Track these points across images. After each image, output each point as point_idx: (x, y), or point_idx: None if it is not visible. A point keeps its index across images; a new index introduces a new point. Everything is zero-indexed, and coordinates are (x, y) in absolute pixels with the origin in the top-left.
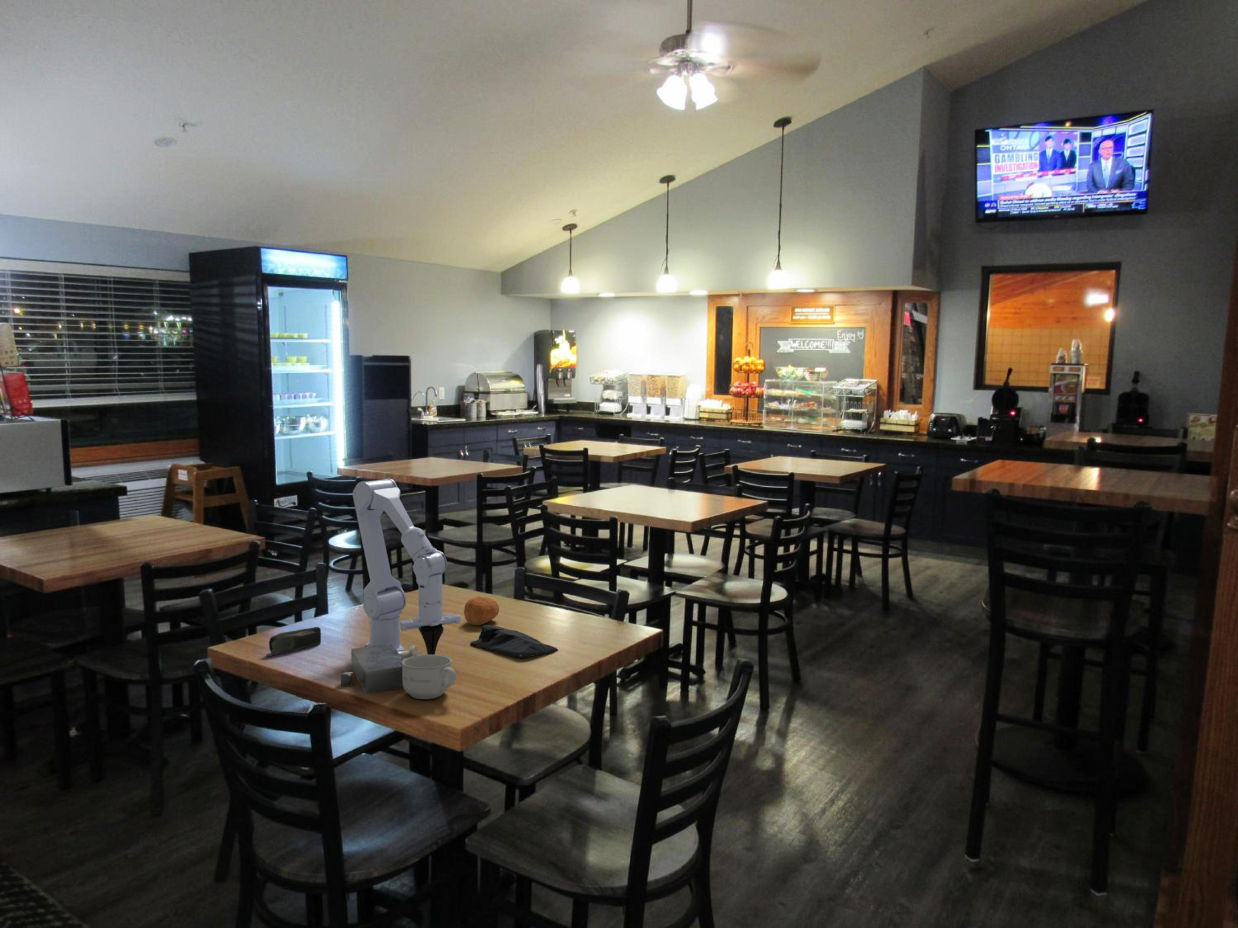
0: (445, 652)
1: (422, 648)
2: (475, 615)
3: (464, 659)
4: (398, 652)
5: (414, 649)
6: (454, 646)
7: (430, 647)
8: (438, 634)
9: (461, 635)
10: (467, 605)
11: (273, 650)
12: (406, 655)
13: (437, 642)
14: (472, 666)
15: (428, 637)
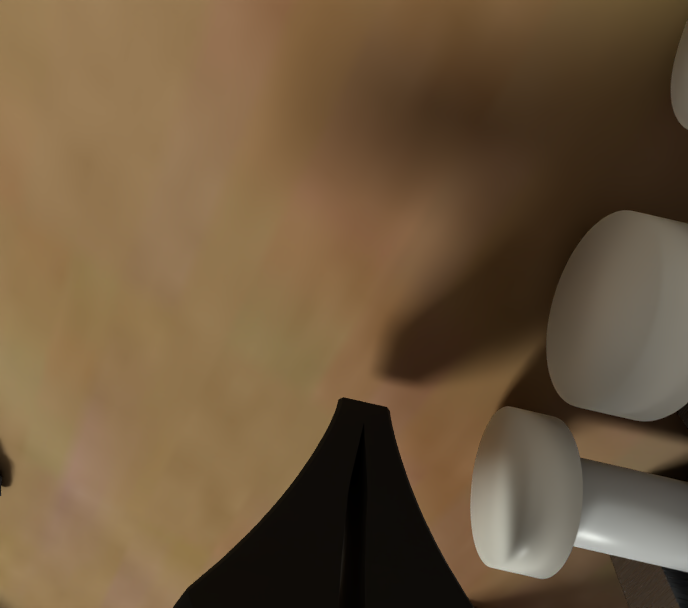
0: (194, 464)
1: None
2: None
3: (108, 277)
4: (682, 548)
5: (555, 508)
6: (109, 505)
7: (385, 463)
8: (270, 573)
9: (34, 588)
10: None
11: None
12: (615, 485)
13: (298, 483)
14: (81, 53)
15: (423, 584)
